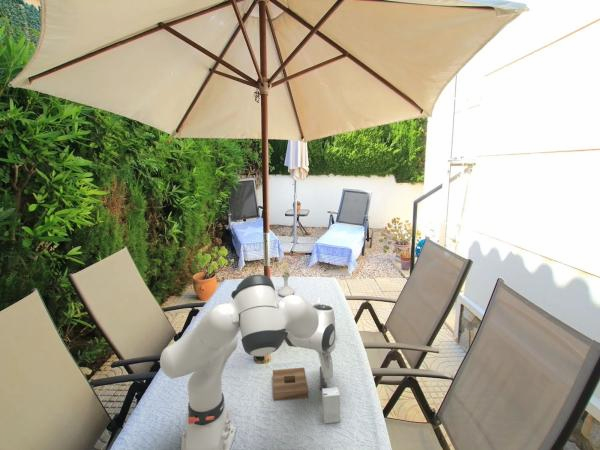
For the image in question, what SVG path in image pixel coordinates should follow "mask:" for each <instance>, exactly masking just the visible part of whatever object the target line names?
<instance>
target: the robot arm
mask: <svg viewBox="0 0 600 450" xmlns="http://www.w3.org/2000/svg"><path fill="white" fill-rule="evenodd" d="M275 290H276V288H275V286H274V283H273V281H272V279H271V278H270V277H269V276H267V275H263V274H252V275H249V276H247V277H245V278H243V280H241V282H240V283H239V284H237V287H236V288H235V289H234V290H232V291H231V294H230V296H231V297H230V298H232V301H230V302H228V303H225V302H224V303H219V304H216V305H215V306H214V307H212V308H210V309H209V310H208V311H207V312H206V313H205V314H204V316H203V317H202V318H201V319H200V321H199V323H198V324H197V325H196V326H195V327H193V329H191V330H189V331H188V332H187V333H185V334H184V335H183V336H182V337H181V338H178V339H177V340H176V341H175V342H173V343H171V344H170V345H168V346H166V347H165V348H164V349H163V350H162V351H161V354H160V358H159V359H160V360H159V365H160V369H161V371H162V373H163V374H164V376H166V377H168V378H170V379H172V380H173V379H177V378H182V377H184V376H188V375H190V374H191V375H190V378H189V380H188V381H187V393H188V394H187V397H188V403H187V404H188V405H187V413H186V430H184V431H183V433H182V434H181V446H180V447H181V448H180V450H231V448H232V445H233V443H234V439H235V437H236V433H237V430H238V429H237V427H236V426H235V425H233V424H232V421H231V420H232V419H231V413H230V409H229V408H227V407H226V405H225V395H224V393H223V387H222V386H223V384H222V382H223V380H222V379H223V373H224V370H225V367H226V365H227V362H228V360H229V359H230V358H231V356H232V355H233V354H234V352H235V351H236V350H237V347H238V343H239V340H238V339H239V338H238V334H239V332H240V334H241V344H242V348H243V350H244V352H245V353H246V354H248V355H249V356H253V357H265V356H269V355H270V354H272V353H274V352H277V350H278V349H279V348H280V347H281V346H282V345H283V342H284V341H285V343H286V345H288V346H289V347H295V348H303V349H308V350H313V351H315V352H317V355H318V358H319V359H318V360H319V363H320V366H321V368H322V372H323V377H324V381H325V382H327V383H329V382H330V379H333V378H334V364H333V363H334V362H333V358H332V354H331V353H332V352H333V351H334V350H335V349H336V321H335V320H336V319H335V318H336V317H335V312H334V311H335V310H334V308H333V307H332V306H330V305H326V304H323V305H318V306H316V307H315V308H314V307H313V305H312V304H311V303H310V302H309V301H308V300H307V299H305V298H303V297H302V296H299V295H297V294H293V295H288V296H283V297H282V298H281V299H280V300H279V302H278V299H277V295H276V292H275ZM185 436H186V437H185Z"/></svg>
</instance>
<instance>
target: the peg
mask: <svg viewBox="0 0 600 450" xmlns="http://www.w3.org/2000/svg"><path fill="white" fill-rule="evenodd" d="M324 388H328V382H325V381H324V377H323V372H322V368H321V365H320V366H319V389H320V390H319V391H321V392H322V389H324Z"/></svg>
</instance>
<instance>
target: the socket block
mask: <svg viewBox="0 0 600 450" xmlns="http://www.w3.org/2000/svg"><path fill="white" fill-rule="evenodd" d="M306 375H307V374H306V370H305V367H295V368H292V367H291V368H284V369H273V370H272V391H273V392H272V393H273V401H280V400H281V401H282V400H283V401H284V400H293V399H294V400H295V399H305V398H309V388H308V381H307V376H306Z"/></svg>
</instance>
